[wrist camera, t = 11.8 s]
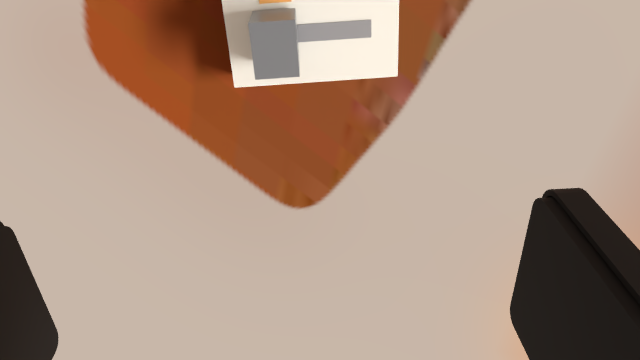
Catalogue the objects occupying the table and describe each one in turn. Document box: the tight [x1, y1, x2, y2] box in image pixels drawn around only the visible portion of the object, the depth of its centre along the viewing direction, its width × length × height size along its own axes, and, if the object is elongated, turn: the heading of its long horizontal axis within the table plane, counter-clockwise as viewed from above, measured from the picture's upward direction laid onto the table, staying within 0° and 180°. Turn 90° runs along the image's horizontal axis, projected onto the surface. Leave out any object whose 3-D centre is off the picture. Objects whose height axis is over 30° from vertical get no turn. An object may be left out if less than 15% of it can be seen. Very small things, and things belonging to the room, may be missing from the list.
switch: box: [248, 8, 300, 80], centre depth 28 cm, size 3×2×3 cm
